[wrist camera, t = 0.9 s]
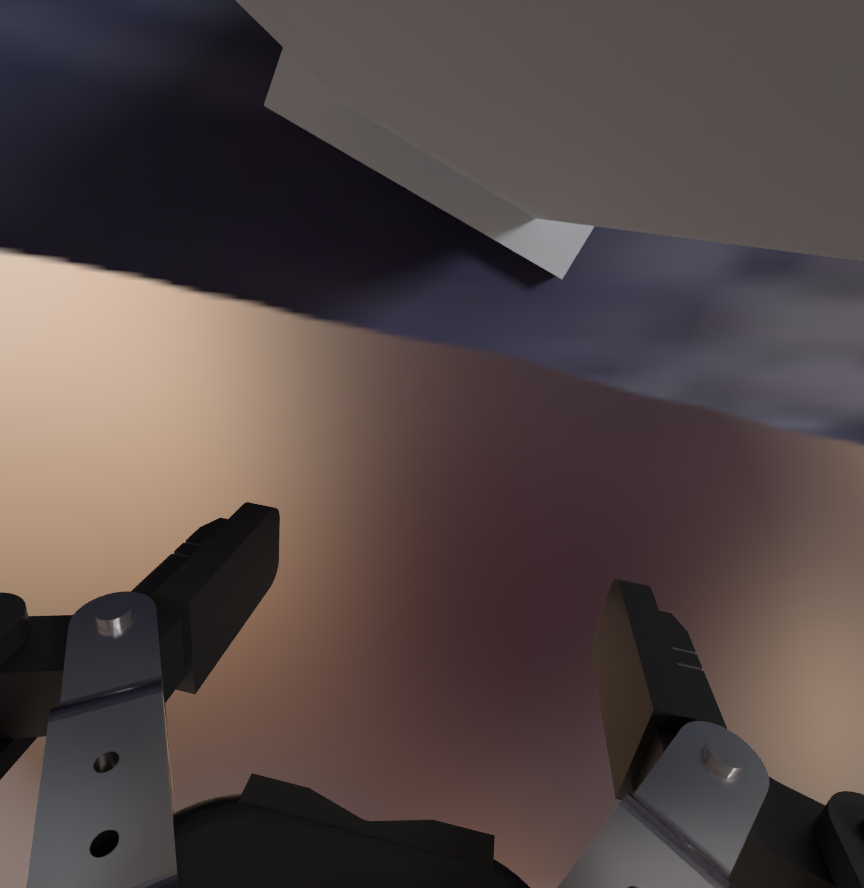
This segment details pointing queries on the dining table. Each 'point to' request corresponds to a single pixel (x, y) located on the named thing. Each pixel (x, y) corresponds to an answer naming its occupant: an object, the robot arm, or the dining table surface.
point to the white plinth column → (593, 113)
